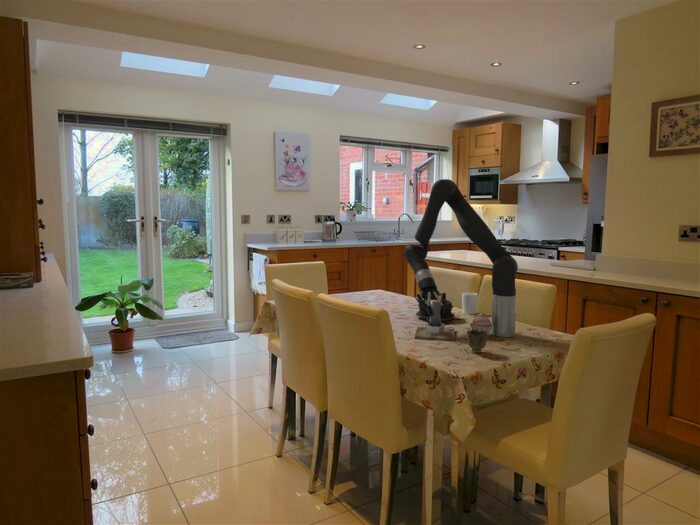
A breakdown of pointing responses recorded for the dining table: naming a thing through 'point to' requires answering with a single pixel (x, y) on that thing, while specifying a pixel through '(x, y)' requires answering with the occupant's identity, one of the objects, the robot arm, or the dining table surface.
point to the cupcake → (482, 323)
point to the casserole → (445, 317)
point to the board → (446, 336)
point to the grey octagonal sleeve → (435, 329)
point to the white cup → (469, 303)
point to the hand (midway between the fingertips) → (437, 314)
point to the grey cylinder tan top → (435, 312)
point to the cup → (477, 340)
